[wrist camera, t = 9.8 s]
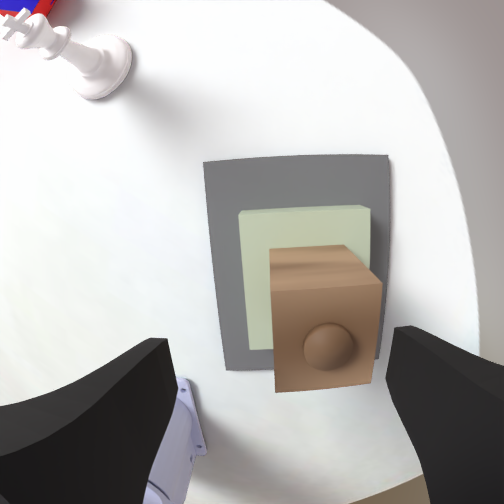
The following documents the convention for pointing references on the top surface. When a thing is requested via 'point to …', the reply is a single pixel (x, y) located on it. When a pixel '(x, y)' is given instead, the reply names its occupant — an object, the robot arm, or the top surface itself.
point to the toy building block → (12, 3)
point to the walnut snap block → (322, 318)
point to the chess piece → (74, 53)
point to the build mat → (286, 196)
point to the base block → (285, 236)
